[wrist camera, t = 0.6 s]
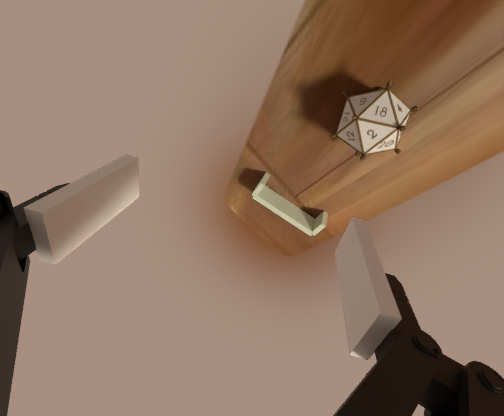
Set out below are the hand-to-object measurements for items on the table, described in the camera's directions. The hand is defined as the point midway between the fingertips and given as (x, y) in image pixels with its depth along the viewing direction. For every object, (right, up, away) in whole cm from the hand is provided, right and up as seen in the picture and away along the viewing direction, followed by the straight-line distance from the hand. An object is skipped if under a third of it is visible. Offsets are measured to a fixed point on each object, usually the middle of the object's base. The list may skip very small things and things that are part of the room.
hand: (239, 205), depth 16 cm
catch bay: (+8, +1, +30) cm, 31 cm away
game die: (+16, +12, +18) cm, 27 cm away
